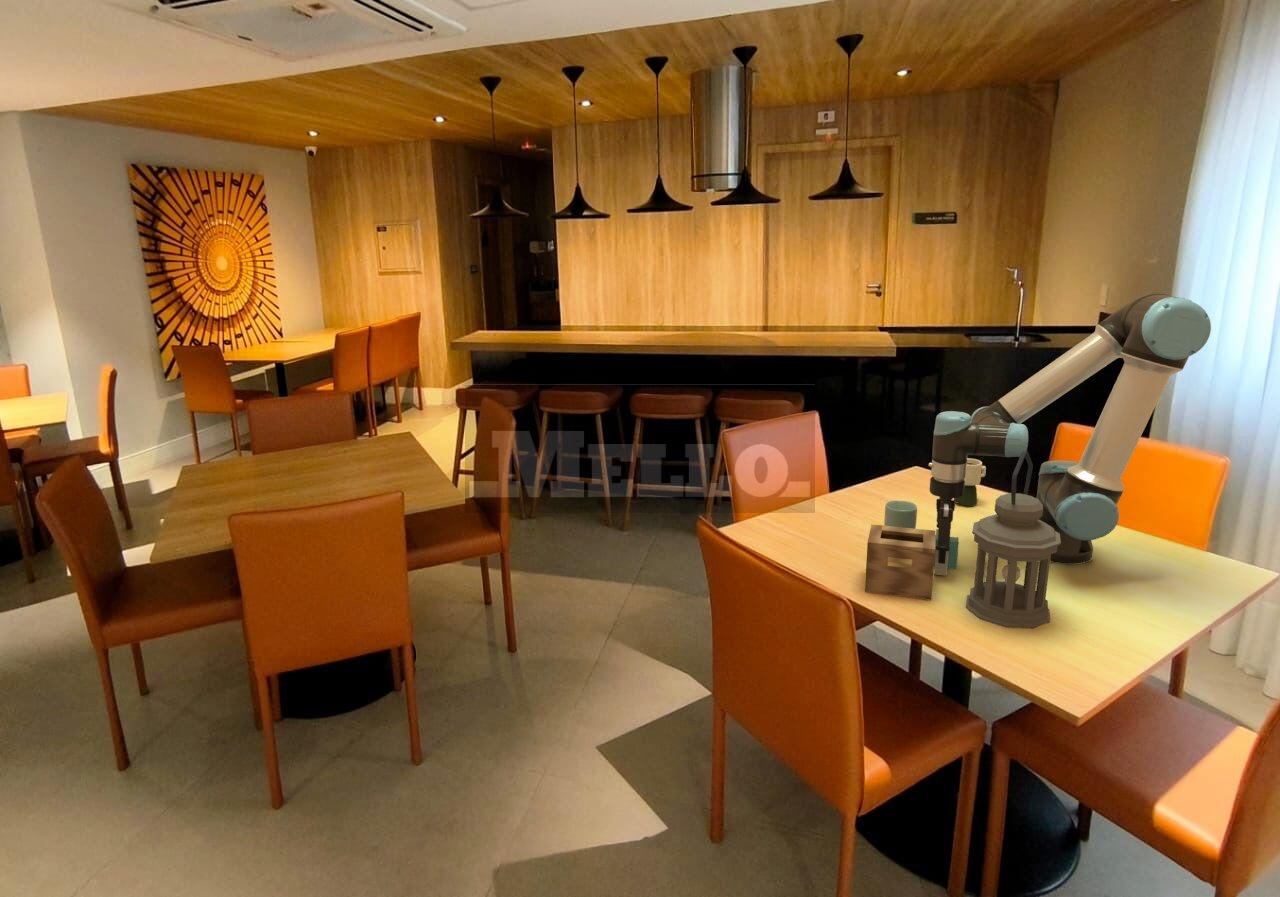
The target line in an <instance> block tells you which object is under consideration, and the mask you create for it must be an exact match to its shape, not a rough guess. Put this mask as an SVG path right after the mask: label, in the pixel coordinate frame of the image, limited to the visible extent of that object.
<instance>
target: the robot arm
mask: <svg viewBox="0 0 1280 897" xmlns="http://www.w3.org/2000/svg"><path fill="white" fill-rule="evenodd" d="M1211 331H1212V323H1211V319H1210V317H1209V315H1208V313H1207V311H1206V310H1205V309H1204V308H1203V307H1202V306H1201V305H1199V304H1197V303H1196V302H1194V301H1192V300H1191V299H1187V298H1185V297H1179V296H1174V295H1169V294H1165V293H1160V292H1159V293H1148V294H1144V295H1141V296H1138V297H1136V298H1135V299H1133V300H1131V301H1129V302H1128V303H1126V304H1124V305H1123V306H1122V307H1120V308H1119V309H1117V310H1115V312H1113V313H1112V314H1110V315H1109V316H1108V317H1106V318H1104V319H1103V320H1102V321H1100V322H1099V323H1098V324H1096V326H1095V330H1094V332H1093V333H1091V334H1090V335H1089V336H1087V337H1086V338H1085V339H1083V340H1081V341H1080V342H1079V343H1077V344H1076V345H1074V346H1073V347H1072V348H1070V349H1069V350H1067V351H1066V352H1065V353H1063V354H1062V355H1060V356H1059V357H1057V358H1055V360H1053V361H1051V363H1049V364H1048V365H1046V366H1045V367H1044V368H1042V369H1039V371H1038V372H1036V373H1035V374H1033V375H1032V376H1030V377H1029V378H1028V379H1026V380H1025V381H1023V382H1022V383H1020V384H1019V385H1017V387H1015V388H1014V389H1012V390H1010V391H1009V392H1008V393H1006V394H1005V395H1004V396H1002V397H1000V398H999V399H997V401H995V402H993V403H992V404H990V405H989V406H982V407H980V408H977V409H975V411H973V413H972V414H971V415H970V414H969V413H966V412H964V411H954V410H950V411H949V410H948V411H942V412H940V413H938V414H937V415H936V417H935V422H934V423H935V424H934V430H933V441H932V456H931V459H932V460H931V462H929V463H928V467H930V468H931V471H930V472H931V473H930V475H931V477H930V479H929V493H930V494H931V495H932V496H935V497H939V498H936V502H935V505H936V506H935V507H936V529H935V535H938V544H937V546H935V549H936V559H935V567H934V573H933V575H937V576H947V575H948V568H947V567H948V555H949V550H950V548H949V544H950V537H951V529H952V523H953V520H954V512H955V508H956V507H955V506H956V504H955V502H954V501H955V500H954V498H959V497H961V496H963V494H964V487H965V481H964V479H965V477H966V468H967V458H968V457H969V455H970V456H986V457H987V456H989V457H990V456H991V457H1003V458H1004V457H1006V458H1012V457H1013V458H1015V457H1017V458H1020V456H1021V453H1022V452H1023V451H1028V445H1029V431H1028V427H1027V426H1026V425H1025V424H1022V423H1023V422H1025V421H1026V420H1028V419H1029V418H1031V417H1032V416H1034V415H1035V414H1037V413H1038V412H1040V411H1041V410H1043V409H1044V408H1046V407H1047V406H1049V405H1050V404H1052V403H1053V402H1054V401H1056V400H1058V399H1059V398H1060V397H1062V396H1064V395H1065V394H1066V393H1068V392H1069V391H1071V390H1073V389H1074V388H1075V387H1077V386H1078V385H1080V384H1081V383H1083V382H1084V381H1085V380H1087V379H1089V378H1090V377H1091V376H1093V375H1095V374H1096V373H1098V372H1099V371H1101V370H1102V369H1104V368H1105V367H1107V365H1109V364H1111V363H1112V362H1114V361H1116V360H1117V359H1119V358H1120V359H1123V362H1124V363H1123V366H1122V367H1121V370H1120V373H1119V374H1118V376H1117V379H1116V380H1115V383H1114V385H1113V387H1112V390H1111V392H1110V393H1109V396H1108V397H1107V400H1106V402H1105V405H1104V407H1103V409H1102V411H1101V414H1100V415H1099V418H1098V420H1097V422H1096V425H1095V427H1094V429H1093V431H1092V433H1091V436H1090V437H1089V440H1088V442H1087V444H1086V446H1085V448H1084V451H1083V453H1082V455H1081V457H1080V459H1079V461H1071V460H1048V461H1044V462H1043V463H1042V464H1041V465H1040V468H1039V472H1038V476H1039V477H1038V483H1037V484H1038V485H1037V494H1036V499H1038V500H1039V501H1040V502H1041V503H1042V504H1043V514H1042V517H1041V518H1040V519H1039V520H1041V521H1043V522H1044V523H1046V524H1048V525H1049V526H1051V527H1052V528H1054V530H1055V531H1056V532H1058V533H1060V540H1061V545H1058V546H1057V552H1056V553H1053V554H1051V560H1050V563H1051V562H1052V563H1054V564H1055V563H1056V564H1062V565H1063V564H1064V565H1076V564H1079V565H1080V564H1084V563H1088V562H1090V561H1091V560H1092V559H1093V555H1094V545H1093V541H1094V540H1098V539H1101V538H1104V537H1105V536H1108V535H1109V534H1110V533H1112V532H1113V531H1114V529H1115V528H1117V525H1118V522H1119V519H1120V513H1119V512H1120V510H1119V507H1118V506H1117V505H1118V503H1119V501H1120V499H1121V497H1122V494H1123V492H1124V491H1125V486H1124V484H1123V482H1122V481H1121V480H1122V477H1123V474H1124V472H1125V470H1126V468H1127V466H1128V464H1129V462H1130V459H1131V457H1132V456H1133V453H1134V451H1135V449H1136V447H1137V445H1138V443H1139V441H1140V439H1141V437H1142V434H1143V433H1144V431H1145V428H1146V427H1147V424H1148V422H1149V420H1150V418H1151V416H1152V414H1153V412H1154V410H1155V408H1156V406H1157V404H1158V402H1159V400H1160V397H1161V396H1162V393H1163V391H1164V389H1165V388H1166V385H1167V383H1168V381H1169V378H1170V377H1171V376H1172V375H1174V374H1176V373H1179V372H1181V371H1183V370H1184V368H1185V366H1186V363H1187V362H1188V360H1189V357H1191V356H1193V355H1194V354H1197V353H1198V352H1199V351H1201V350H1202V349H1203V347H1204V346H1205V345H1206V344H1207V343H1208V340H1209V337H1210V335H1211Z"/></svg>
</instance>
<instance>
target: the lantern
mask: <svg viewBox="0 0 1280 897" xmlns="http://www.w3.org/2000/svg"><path fill="white" fill-rule="evenodd" d="M1018 458H1019V459H1018V460H1017V463H1016V465H1015V467H1014V470H1013V472H1012V477H1011V492H1010V493H1004V494H1002V495H999V496H998V497H997V498H996V499H995V504H994V512H995V514H992V515H989V516H986V517H983V518H980V519H979V521H975V522H973V525H972V531H971V533H972V534H973V535H974V538H973V542H975V543H977V544H978V545H977V556H976V564H975V565H976V566H975V572H974V573H975V574H974V575H975V576H974V585H973V587H971V588H970V591H969V594H968V595H967V596H966V602H965V606H964V607H965V608H966V610H967V611H969V612H971V614H973V615H974V617H975V616H976V617H977V619H979V620H981V621H983V622H987V623H991V624H993V625H997V626H1000V627H1003V628H1009V629H1011V628H1012V629H1015V628H1016V629H1031V630H1032V629H1036V628H1039V627H1042V626H1043V625H1046V624H1049V623H1050V622H1051V614H1050V613H1051V612H1050V608H1049V600H1048V599H1046V598H1047V589H1048V582H1049V581H1048V580H1049V574H1050V567H1051V562H1050V560H1051V554H1053V553H1056V552H1057V546H1058V545H1061V540H1060V533H1058V532H1056V531H1055V530H1054V528H1052V527H1051V526H1049V525H1048V524H1046V523H1044V522H1043V521H1041V520H1039V519H1040V518H1041V517H1042V514H1043V504H1042V503H1041V502H1040V501H1039V500H1038V499H1037V497H1034V496H1033V495H1028V493H1029V488H1030V483H1031V479H1032V473H1033V468H1034V467H1033V461H1032V459H1031V456H1030V454H1029V452H1028V450H1027V451H1023V452H1022V453H1021V456H1020V457H1018ZM1024 460H1025V461H1026V463H1027V471H1026V472H1027V473H1026V478H1025V485H1024V490H1023V493H1017V477H1018V474H1019V473H1020V470H1021V467H1022V465H1023V462H1024ZM987 555H988V556H987ZM986 557H987V558H986ZM999 559H1002V560H1006V561H1007V563H1006V564H1005V565H1003V567H1002V568H1001V575H1002V578H1003V579H1004V581H1002V580H1001V581H999V580H997V573H998V562H999ZM986 560H987V565H986ZM1018 563H1025V570H1024V577H1023V578H1024V580H1023V584H1020V583H1016V582H1017V581H1018V580H1019V578H1020V577H1021V571H1022V570H1021V568H1020V567H1019V566H1018ZM985 566H986V575H985ZM984 579H985V581H984Z"/></svg>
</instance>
